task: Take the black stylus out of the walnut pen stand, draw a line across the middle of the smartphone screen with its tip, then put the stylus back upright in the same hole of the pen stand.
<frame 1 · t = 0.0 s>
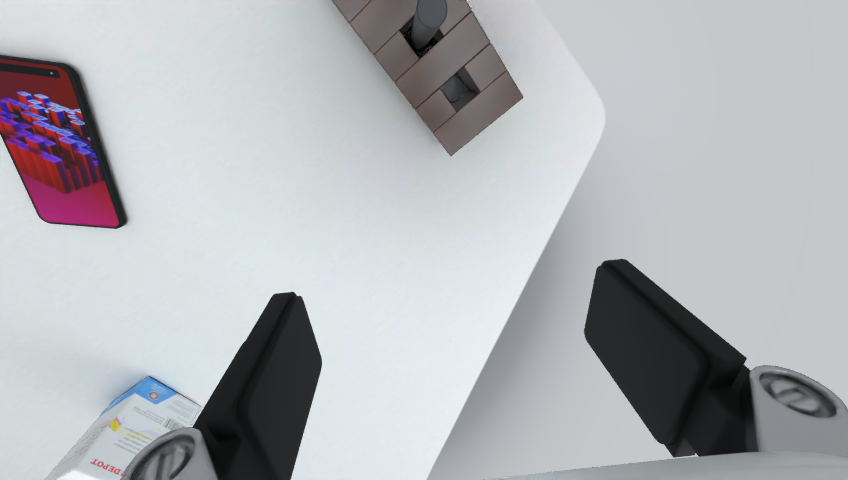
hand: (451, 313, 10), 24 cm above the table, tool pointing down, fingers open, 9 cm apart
stylus: (423, 29, 21), in the pen stand
smartphone: (63, 149, 30), on the table
pen stand: (418, 40, 27), on the table
ink box: (159, 402, 46), on the table
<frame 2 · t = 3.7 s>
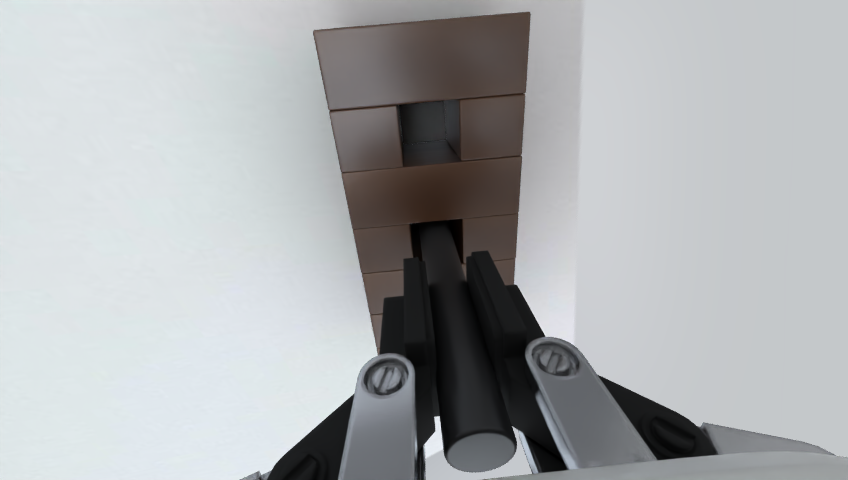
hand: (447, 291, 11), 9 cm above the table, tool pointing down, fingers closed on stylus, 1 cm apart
stylus: (442, 268, 13), in the pen stand, touching gripper
pen stand: (429, 205, 19), on the table
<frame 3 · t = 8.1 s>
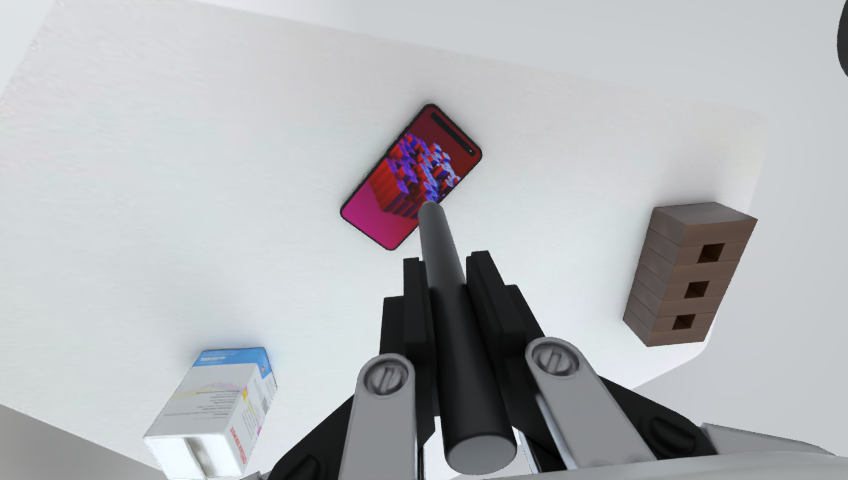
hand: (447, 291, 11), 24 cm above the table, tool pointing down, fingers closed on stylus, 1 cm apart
stylus: (442, 270, 13), point 22 cm above the table, touching gripper
smartphone: (408, 182, 34), on the table
pen stand: (664, 266, 41), on the table
ink box: (242, 369, 45), on the table
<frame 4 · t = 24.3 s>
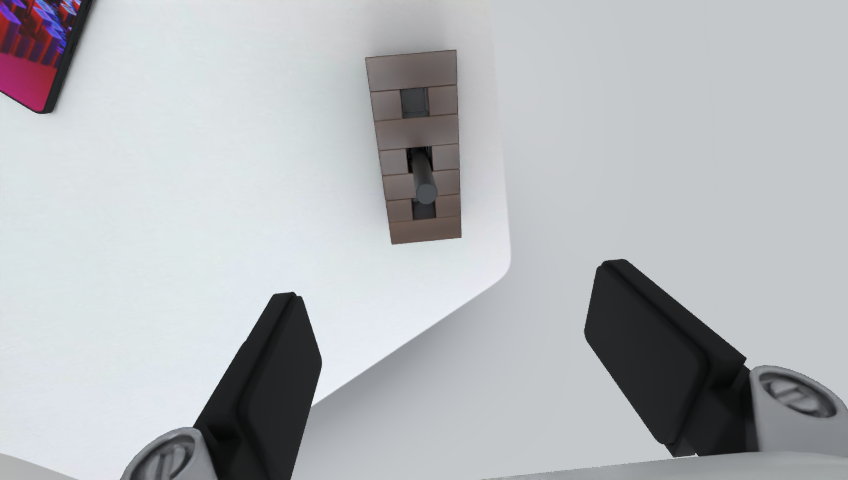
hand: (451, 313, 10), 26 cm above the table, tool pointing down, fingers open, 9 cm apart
stylus: (421, 167, 27), in the pen stand
smartphone: (28, 13, 27), on the table
pen stand: (417, 148, 34), on the table
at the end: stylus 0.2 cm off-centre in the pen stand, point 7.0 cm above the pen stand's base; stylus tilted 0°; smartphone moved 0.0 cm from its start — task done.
